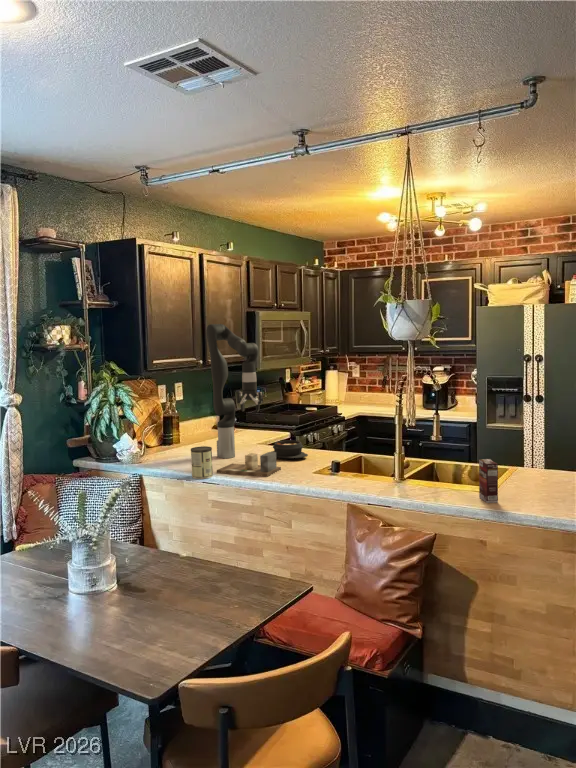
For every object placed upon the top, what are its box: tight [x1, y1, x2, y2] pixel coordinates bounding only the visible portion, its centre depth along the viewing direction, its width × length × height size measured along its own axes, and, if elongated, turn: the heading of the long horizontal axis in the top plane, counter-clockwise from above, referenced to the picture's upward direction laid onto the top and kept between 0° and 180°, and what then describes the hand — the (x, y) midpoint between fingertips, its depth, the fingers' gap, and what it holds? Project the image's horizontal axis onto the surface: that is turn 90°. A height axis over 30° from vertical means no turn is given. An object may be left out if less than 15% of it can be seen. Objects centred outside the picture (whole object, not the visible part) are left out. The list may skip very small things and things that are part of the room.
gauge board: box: [216, 451, 282, 478], centre depth 310 cm, size 28×16×10 cm, turn 66°
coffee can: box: [190, 445, 214, 480], centre depth 301 cm, size 10×10×14 cm
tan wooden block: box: [244, 452, 259, 470], centre depth 307 cm, size 4×10×7 cm, turn 156°
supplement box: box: [478, 458, 499, 504], centre depth 246 cm, size 9×5×16 cm, turn 3°
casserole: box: [270, 439, 309, 460], centre depth 342 cm, size 25×19×8 cm
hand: (250, 411), depth 326 cm, fingers open, 8 cm apart
